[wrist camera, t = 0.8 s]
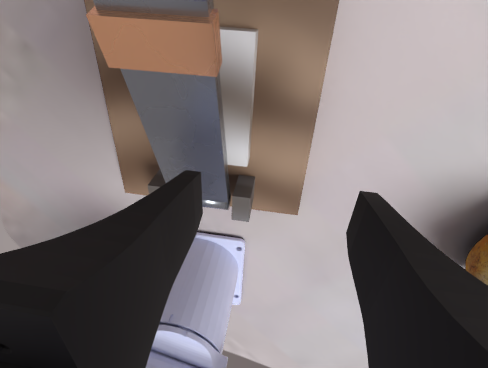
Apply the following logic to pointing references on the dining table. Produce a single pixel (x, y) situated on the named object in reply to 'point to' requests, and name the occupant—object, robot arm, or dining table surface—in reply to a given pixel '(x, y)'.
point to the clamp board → (246, 102)
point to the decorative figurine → (479, 260)
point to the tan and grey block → (172, 82)
